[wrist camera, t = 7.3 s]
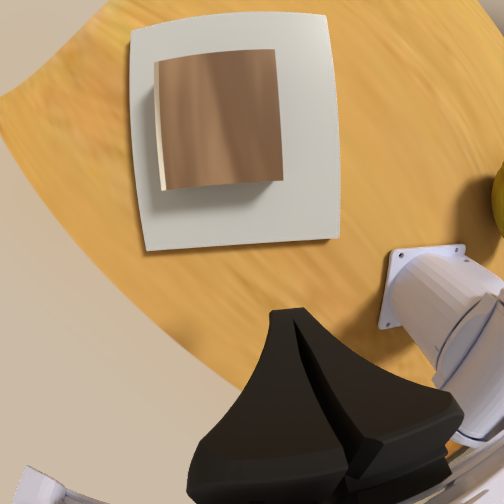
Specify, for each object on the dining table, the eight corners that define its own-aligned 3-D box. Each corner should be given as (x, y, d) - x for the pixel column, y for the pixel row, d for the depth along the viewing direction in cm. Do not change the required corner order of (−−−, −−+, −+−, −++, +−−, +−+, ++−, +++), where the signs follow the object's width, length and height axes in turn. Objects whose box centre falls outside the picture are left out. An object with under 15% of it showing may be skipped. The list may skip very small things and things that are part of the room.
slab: (274, 49, 12) (153, 62, 12) (283, 180, 15) (161, 190, 15) (270, 62, 15) (165, 73, 14) (277, 176, 17) (172, 185, 17)
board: (322, 20, 14) (325, 15, 13) (335, 233, 20) (339, 237, 19) (135, 35, 14) (131, 30, 13) (150, 246, 20) (146, 251, 19)
